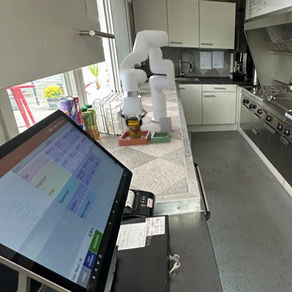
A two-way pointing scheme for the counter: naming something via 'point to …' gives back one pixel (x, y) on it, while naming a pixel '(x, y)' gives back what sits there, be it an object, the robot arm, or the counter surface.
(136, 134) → the condiment
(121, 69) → the robot arm
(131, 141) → the terracotta bin
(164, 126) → the grey rectangular block
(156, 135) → the green bin
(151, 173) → the counter surface
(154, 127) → the counter surface
